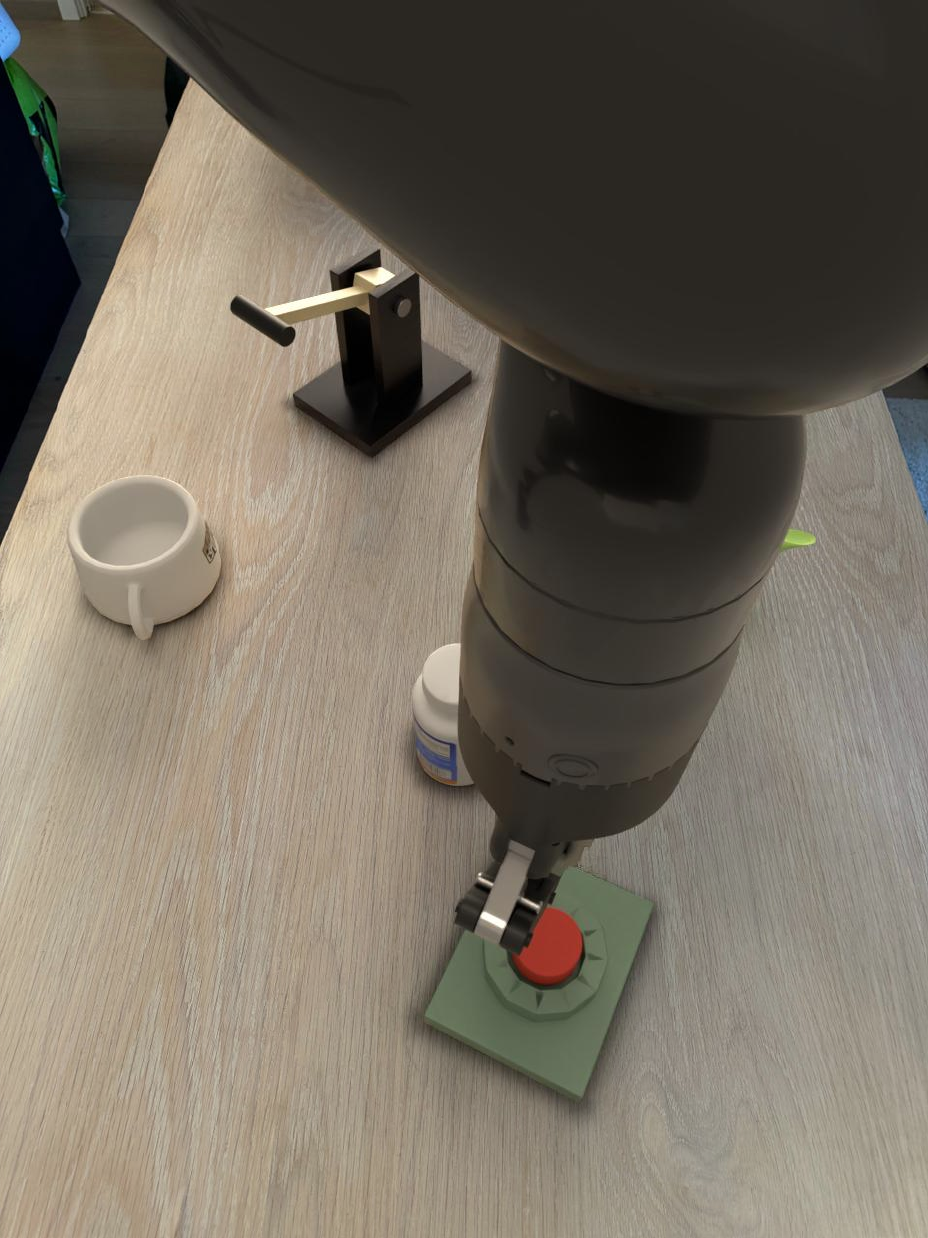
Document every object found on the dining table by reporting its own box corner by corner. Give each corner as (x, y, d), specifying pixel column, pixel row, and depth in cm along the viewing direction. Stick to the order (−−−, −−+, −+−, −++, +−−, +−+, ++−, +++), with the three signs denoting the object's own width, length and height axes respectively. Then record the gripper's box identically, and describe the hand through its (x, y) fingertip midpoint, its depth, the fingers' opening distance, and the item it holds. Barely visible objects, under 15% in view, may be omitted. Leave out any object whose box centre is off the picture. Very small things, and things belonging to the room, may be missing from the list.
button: (563, 997, 49) (566, 989, 48) (500, 966, 50) (501, 957, 48) (589, 934, 51) (592, 924, 49) (527, 905, 52) (529, 895, 50)
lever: (278, 355, 63) (281, 322, 61) (228, 322, 65) (230, 289, 63) (409, 316, 72) (415, 286, 70) (363, 288, 73) (367, 258, 72)
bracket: (371, 458, 75) (359, 337, 65) (294, 404, 78) (271, 282, 68) (471, 381, 80) (474, 258, 70) (395, 334, 83) (387, 210, 74)
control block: (578, 1103, 49) (586, 1093, 46) (424, 1023, 51) (422, 1008, 48) (649, 912, 55) (660, 892, 52) (507, 847, 57) (510, 824, 54)
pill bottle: (491, 707, 62) (497, 624, 54) (508, 782, 59) (516, 706, 51) (410, 719, 62) (403, 637, 54) (422, 795, 59) (417, 721, 51)
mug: (91, 531, 70) (64, 475, 65) (223, 517, 71) (206, 461, 66) (78, 667, 64) (46, 617, 59) (223, 651, 65) (204, 599, 60)
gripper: (558, 469, 32) (521, 717, 46) (363, 797, 25) (390, 969, 39) (775, 549, 30) (667, 781, 44) (630, 925, 23) (557, 1056, 37)
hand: (537, 869), depth 42 cm, fingers closed
